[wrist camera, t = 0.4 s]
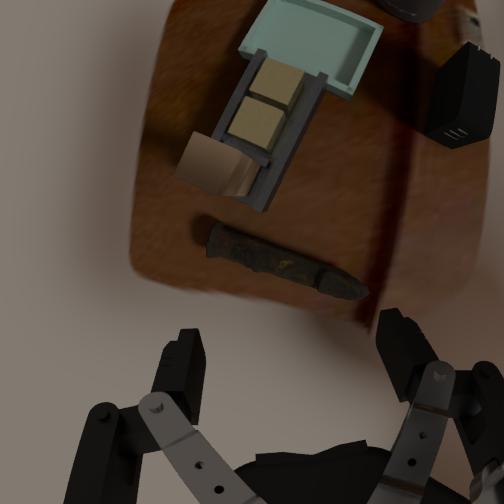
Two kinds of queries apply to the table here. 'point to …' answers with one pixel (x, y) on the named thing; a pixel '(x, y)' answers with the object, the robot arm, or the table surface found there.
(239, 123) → the pale yellow cube
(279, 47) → the tray
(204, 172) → the tan wooden block
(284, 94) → the tan cube
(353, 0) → the table surface
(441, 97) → the electronic device
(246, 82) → the slot rail
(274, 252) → the hand tool
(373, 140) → the table surface
